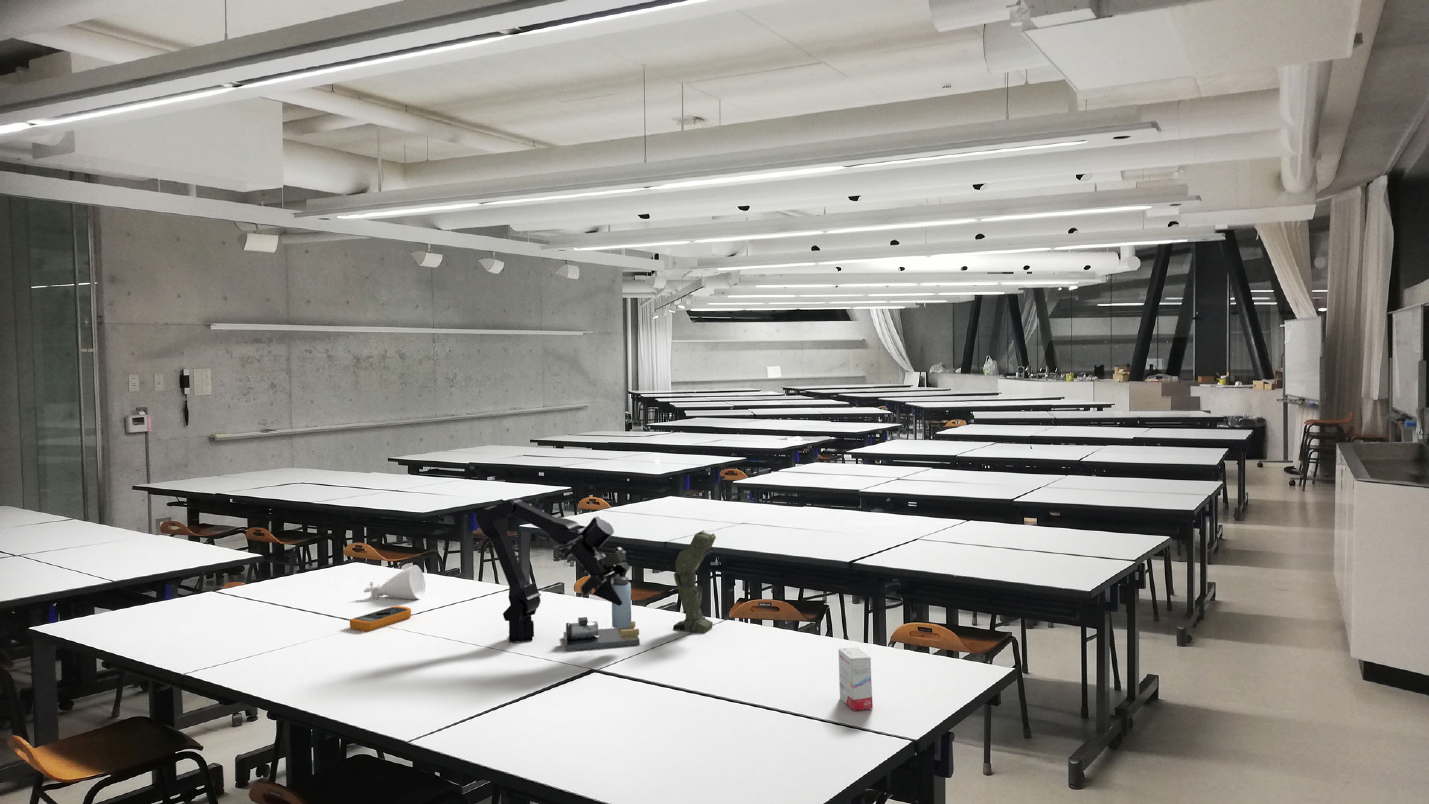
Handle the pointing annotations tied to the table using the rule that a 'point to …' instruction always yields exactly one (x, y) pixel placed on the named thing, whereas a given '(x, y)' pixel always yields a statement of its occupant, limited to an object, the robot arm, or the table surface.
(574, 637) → the plate
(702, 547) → the mechanical leg
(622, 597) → the bottle
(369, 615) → the multimeter
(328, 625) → the table surface
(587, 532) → the robot arm
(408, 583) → the rocket engine
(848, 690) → the ink box
